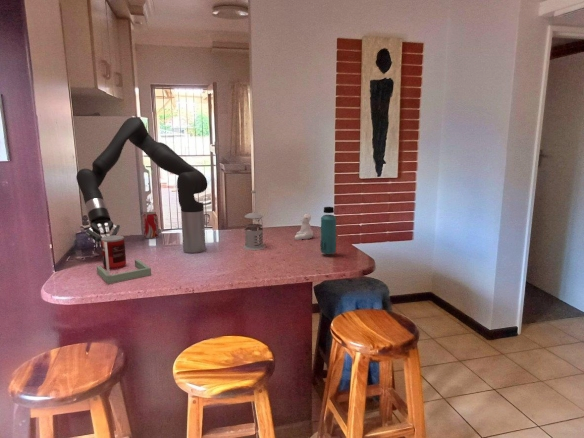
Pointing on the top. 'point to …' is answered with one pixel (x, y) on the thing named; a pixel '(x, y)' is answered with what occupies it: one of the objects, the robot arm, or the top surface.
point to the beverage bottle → (328, 232)
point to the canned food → (114, 251)
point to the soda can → (150, 225)
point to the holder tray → (142, 271)
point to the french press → (254, 232)
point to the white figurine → (304, 229)
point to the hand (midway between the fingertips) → (108, 248)
